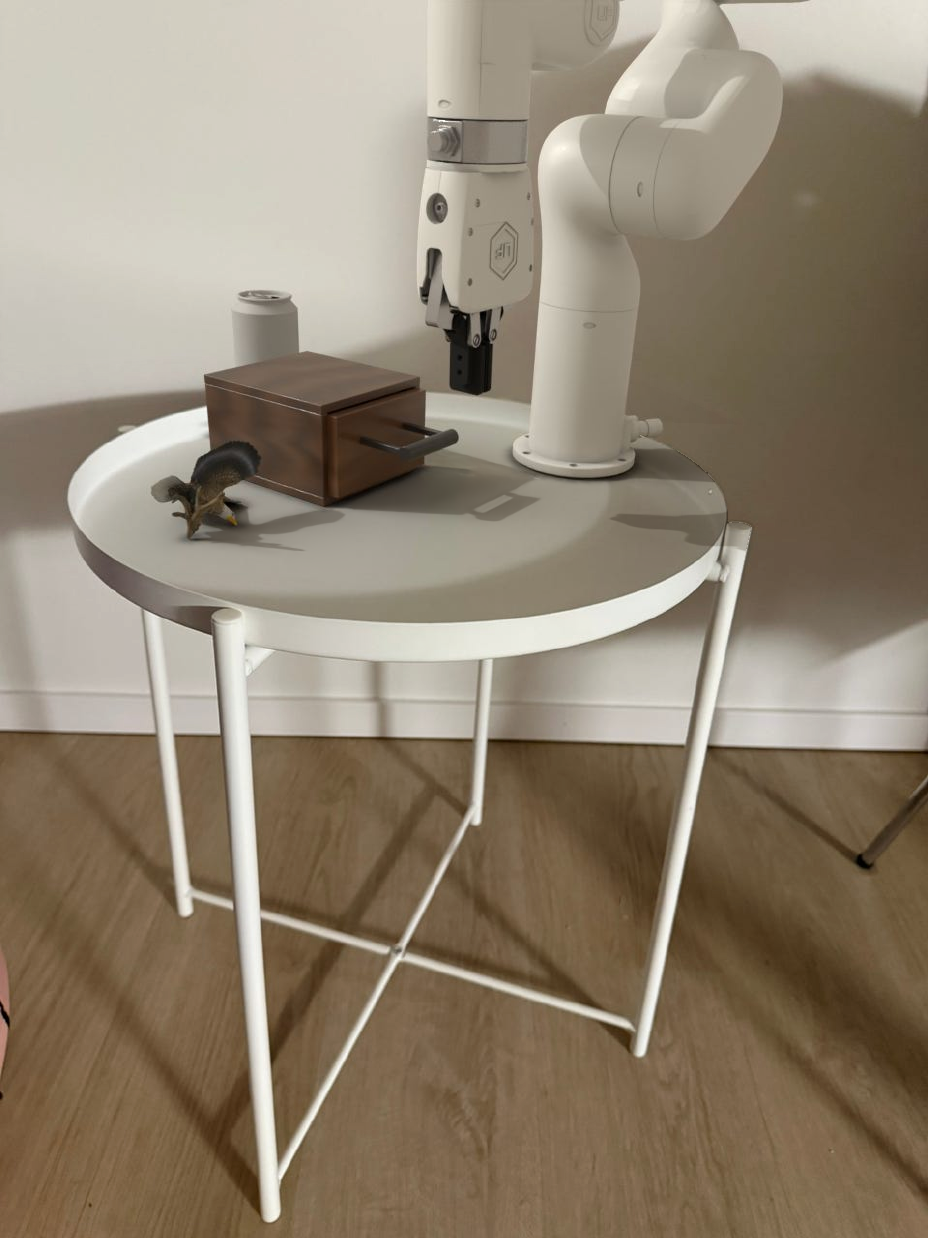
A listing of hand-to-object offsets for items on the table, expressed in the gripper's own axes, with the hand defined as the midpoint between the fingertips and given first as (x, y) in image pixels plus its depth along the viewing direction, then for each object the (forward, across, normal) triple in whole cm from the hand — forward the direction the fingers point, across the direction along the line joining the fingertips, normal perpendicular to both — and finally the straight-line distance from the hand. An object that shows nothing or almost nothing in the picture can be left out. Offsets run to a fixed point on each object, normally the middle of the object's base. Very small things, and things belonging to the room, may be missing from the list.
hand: (470, 389), depth 80 cm
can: (+12, +13, +39) cm, 43 cm away
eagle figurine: (+11, -17, +14) cm, 24 cm away
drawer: (+10, -1, +13) cm, 16 cm away
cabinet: (+11, -1, +17) cm, 20 cm away
